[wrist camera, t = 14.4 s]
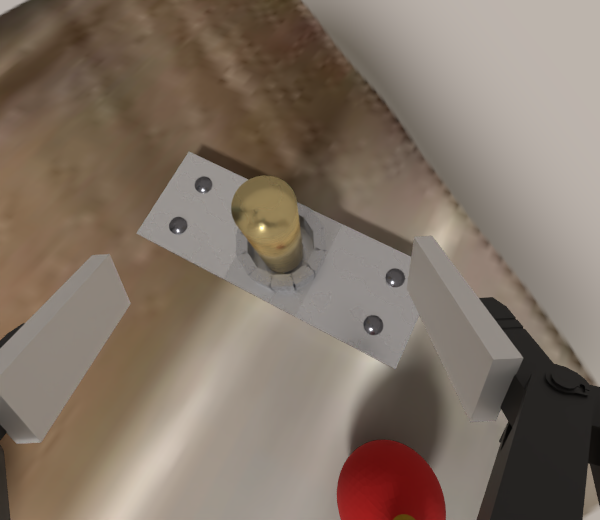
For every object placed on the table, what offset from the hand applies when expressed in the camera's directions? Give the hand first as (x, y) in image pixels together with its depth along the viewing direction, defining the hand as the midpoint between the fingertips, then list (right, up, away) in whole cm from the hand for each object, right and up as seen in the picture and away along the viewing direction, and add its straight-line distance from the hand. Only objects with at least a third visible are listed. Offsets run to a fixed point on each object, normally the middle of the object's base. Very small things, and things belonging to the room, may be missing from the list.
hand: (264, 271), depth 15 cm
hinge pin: (0, +1, +14) cm, 14 cm away
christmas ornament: (+8, -17, +12) cm, 22 cm away
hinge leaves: (0, +1, +16) cm, 16 cm away
